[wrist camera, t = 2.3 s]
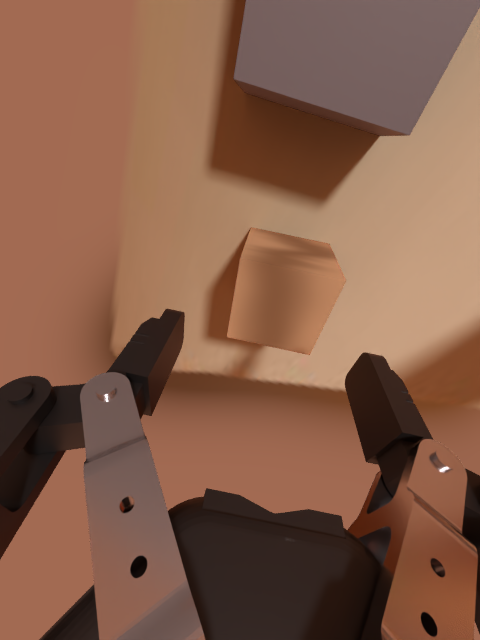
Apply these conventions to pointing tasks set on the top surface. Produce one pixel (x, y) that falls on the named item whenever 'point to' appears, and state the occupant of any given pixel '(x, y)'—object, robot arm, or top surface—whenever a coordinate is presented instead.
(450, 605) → the robot arm
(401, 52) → the charcoal block
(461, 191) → the top surface
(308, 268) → the oak block
